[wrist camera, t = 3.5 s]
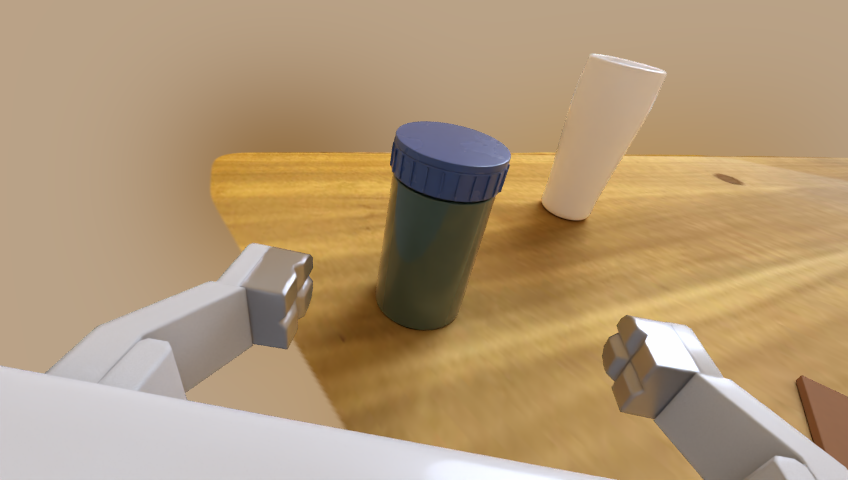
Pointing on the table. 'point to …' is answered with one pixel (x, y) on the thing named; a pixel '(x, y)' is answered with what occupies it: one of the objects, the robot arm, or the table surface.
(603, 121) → the drinking glass
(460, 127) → the lid
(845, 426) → the coaster
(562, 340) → the table surface
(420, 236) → the jar
